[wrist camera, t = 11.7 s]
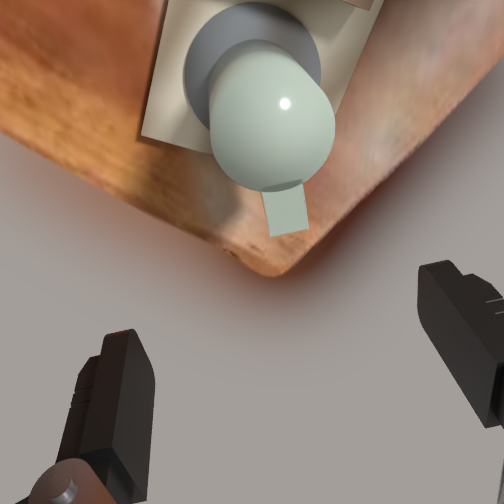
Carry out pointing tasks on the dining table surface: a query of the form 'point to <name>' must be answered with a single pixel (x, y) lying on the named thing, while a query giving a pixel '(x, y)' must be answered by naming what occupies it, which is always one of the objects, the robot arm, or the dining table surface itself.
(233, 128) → the sage jug
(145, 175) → the dining table surface
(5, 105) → the dining table surface
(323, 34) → the jug stand
